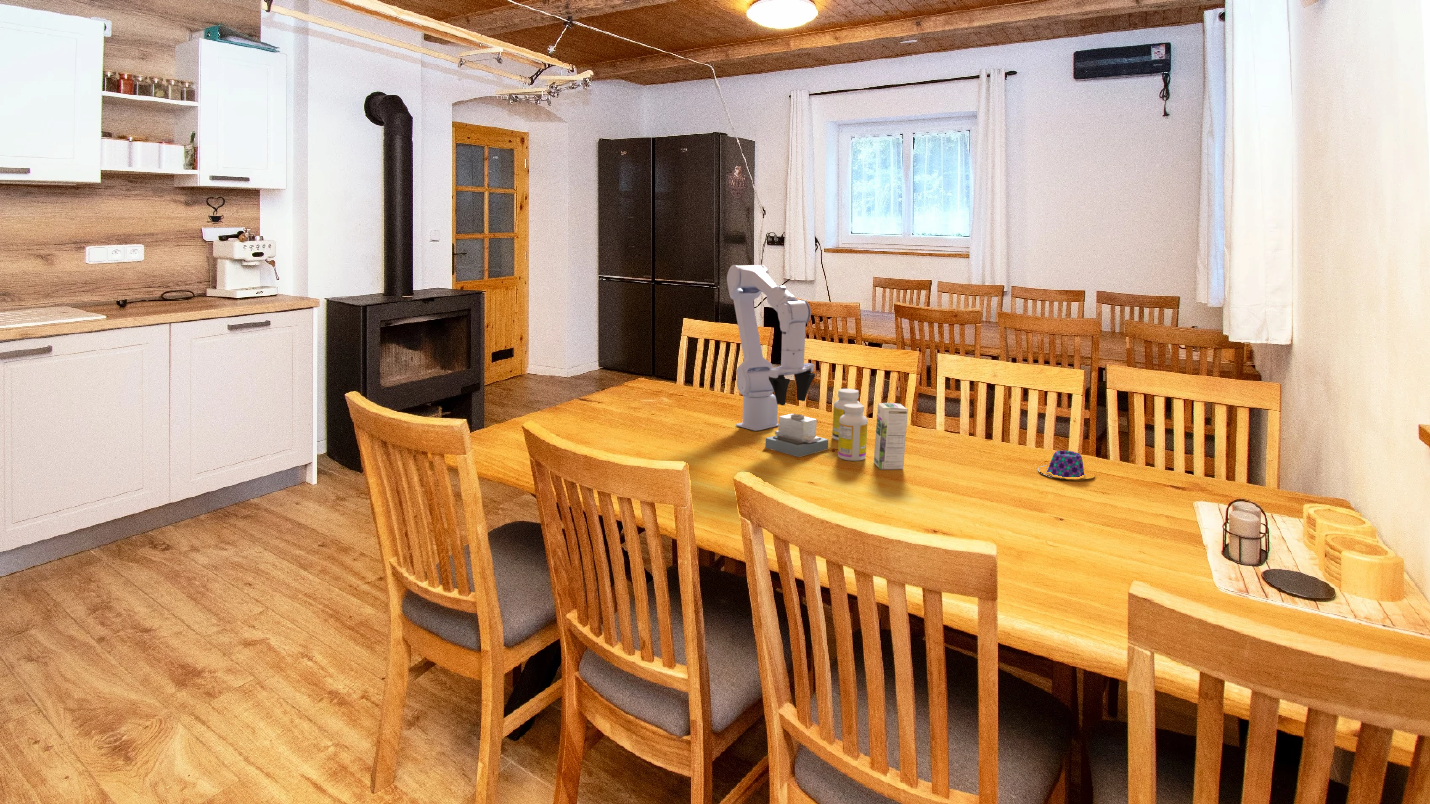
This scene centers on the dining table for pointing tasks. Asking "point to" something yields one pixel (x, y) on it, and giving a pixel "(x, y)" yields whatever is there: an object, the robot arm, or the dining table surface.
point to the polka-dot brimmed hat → (1066, 464)
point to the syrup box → (890, 436)
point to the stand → (795, 446)
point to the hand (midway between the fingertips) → (791, 402)
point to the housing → (797, 428)
